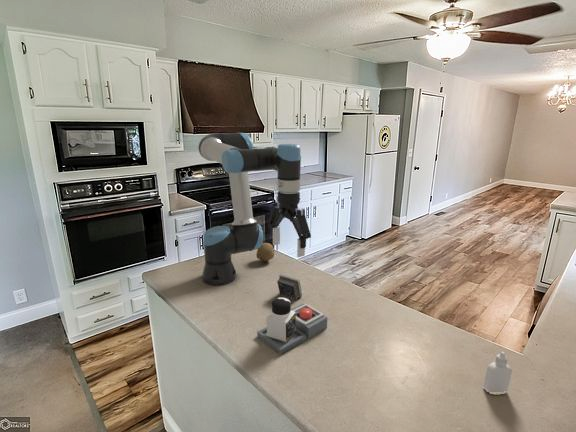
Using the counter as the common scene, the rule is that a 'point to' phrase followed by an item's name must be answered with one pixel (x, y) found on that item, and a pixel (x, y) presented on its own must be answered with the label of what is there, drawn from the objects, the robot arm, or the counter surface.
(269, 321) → the medicine bottle
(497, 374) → the eye dropper bottle
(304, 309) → the button
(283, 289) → the electrical switch
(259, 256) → the natural sponge
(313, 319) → the console
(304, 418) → the counter surface
